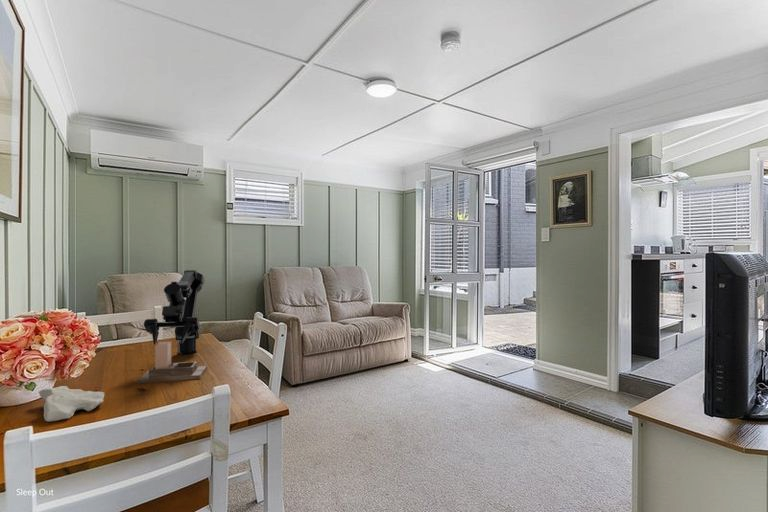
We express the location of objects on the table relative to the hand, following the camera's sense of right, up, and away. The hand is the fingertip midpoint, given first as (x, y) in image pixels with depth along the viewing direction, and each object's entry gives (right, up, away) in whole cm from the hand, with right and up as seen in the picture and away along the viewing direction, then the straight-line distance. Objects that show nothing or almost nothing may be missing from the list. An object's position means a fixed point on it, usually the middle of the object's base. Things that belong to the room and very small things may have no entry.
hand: (168, 343), depth 141 cm
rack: (+5, -11, -4) cm, 13 cm away
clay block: (+1, -10, -5) cm, 11 cm away
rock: (-9, -11, -33) cm, 36 cm away
